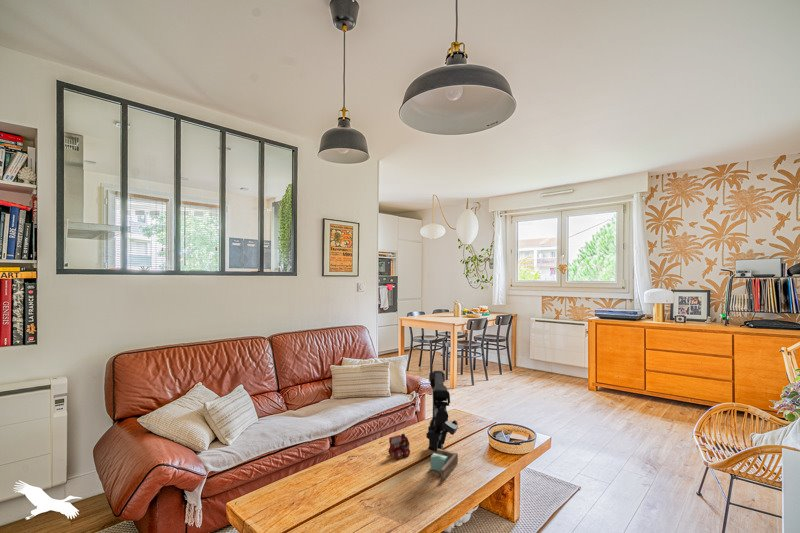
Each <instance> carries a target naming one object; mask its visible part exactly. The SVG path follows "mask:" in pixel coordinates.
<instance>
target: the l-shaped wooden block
mask: <svg viewBox="0 0 800 533" xmlns="http://www.w3.org/2000/svg"><path fill="white" fill-rule="evenodd" d="M435 453H436V454H440V455H444V456H448V459H447V463H446V464H445V465H444V466H443V468H442V469H441V472H440V471H436V470H433V469H431V466H430V467H429V468H428V470H430V471H433V472H436V473H439V474H440V481H442V482H445V481H446V479H447V478H448V476H450V474H451V473H452V472H453V471H454V469H455V468H456V466H457V465H458V462H459V454H458V452H455V451H449V450H446V449H443V448H442V449H438V448H437V452H435Z"/></svg>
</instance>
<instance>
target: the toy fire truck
mask: <svg viewBox="0 0 800 533" xmlns="http://www.w3.org/2000/svg"><path fill="white" fill-rule="evenodd" d="M388 443H389V448H388V450H387V451H388V454H389V455H390V456H394V458H395V460H400V459H401V458H402V456H404V457H405V458H406V456H407V457H409V456H410V454H411V450H410V441H409V438H408V436H406V434H405V433H402V434H399V435H398V434H397V435H395V436H391V437H389V438H388Z"/></svg>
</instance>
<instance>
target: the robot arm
mask: <svg viewBox="0 0 800 533" xmlns="http://www.w3.org/2000/svg"><path fill="white" fill-rule="evenodd" d="M428 382H429V384H430V387H431V388H432V416H431V419H430V421H429V426H428V427H427V432H426V439H428V447H427V450H431V451H434V453H436V452H437V448H438V449H442V450H443V447H444V445H445V441H446V438H447V435H448V433H449V435H452V436H453V435H455V434H456V432H457V430H458V429H459V424H458V420H456V419H454V420H453V421H452V420H449V413H448V410H447V407H450V404H451V394H450V392H449V391H448V388H447V386H446V385H444V383H445V382H446V374H445V373H444V372H443V371H442V370H433V371H432V372H430V373H429V374H428Z"/></svg>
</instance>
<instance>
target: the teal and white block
mask: <svg viewBox="0 0 800 533" xmlns="http://www.w3.org/2000/svg"><path fill="white" fill-rule="evenodd" d="M447 459H448V456H444V455H440V454H436V452H433V453H432V454H431V455H430V467H431V469H433V470H436V471H440V472H441V469H442V468H443V466H444V465H445V464H446V463H447ZM433 470H432V471H433ZM436 471H435V472H436ZM440 472H439V473H440Z"/></svg>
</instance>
